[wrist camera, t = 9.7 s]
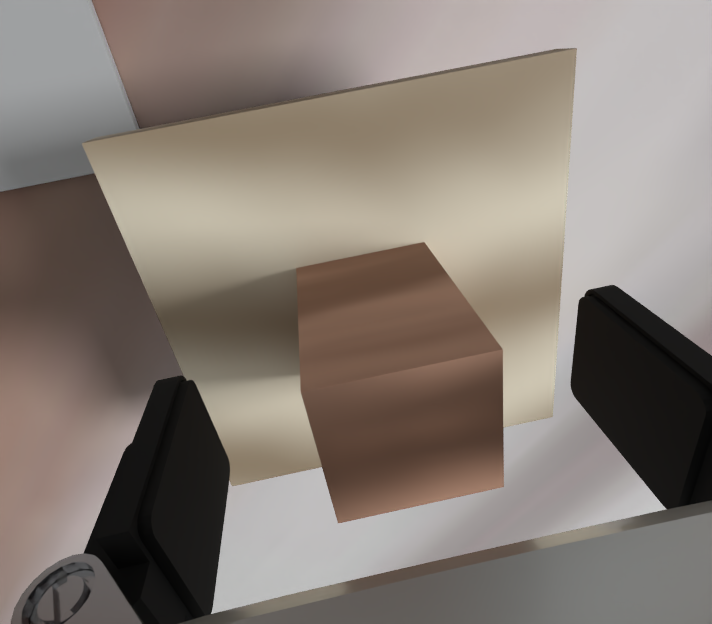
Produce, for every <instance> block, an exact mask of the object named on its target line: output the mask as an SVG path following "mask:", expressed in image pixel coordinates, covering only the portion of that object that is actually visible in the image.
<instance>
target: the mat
mask: <svg viewBox="0 0 712 624" xmlns="http://www.w3.org/2000/svg"><path fill="white" fill-rule="evenodd" d="M137 129H140V128H139V126H138V123H137V120H136V118H135V115H134V112H133V110H132V107H131V105H130V102H129V99H128V97H127V94H126V91H125V89H124V86H123V83H122V81H121V78H120V75H119V73H118V70H117V67H116V65H115V62H114V59H113V57H112V54H111V51H110V49H109V46H108V43H107V41H106V38H105V35H104V33H103V30H102V27H101V25H100V22H99V19H98V17H97V14H96V11H95V9H94V6H93V3H92V1H91V0H0V192H2V191H7V190H12V189H17V188H22V187H27V186H32V185H37V184H42V183H47V182H53V181H58V180H63V179H68V178H73V177H78V176H83V175H88V174H93V173H94V170H93V168H92V166H91V164H90V161H89V159H88V157H87V155H86V152H85V150H84V148H83V145H82V143H84V142H86V141H88V140H91V139H93V138H96V137H100V136H106V135H111V134H116V133H121V132H127V131H132V130H137Z"/></svg>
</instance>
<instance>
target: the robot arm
mask: <svg viewBox="0 0 712 624" xmlns="http://www.w3.org/2000/svg"><path fill="white" fill-rule="evenodd" d="M571 389H572V392H573V395H574V396H575V398H576V399H577V401H578V402H579V403H580V404H581V405H582V407H583V408H584V409H585V410H586V412H587V413H588V414H589V415H590V416H591V418H592V419H593V420H594V421H595V423H596V424H597V425H598V426H599V427H600V429H601V430H602V431H603V432H604V434H605V435H606V436H607V437H608V438H609V440H610V441H611V442H612V443H613V445H614V446H615V447H616V448H617V449H618V451H619V452H620V453H621V454H622V456H623V457H624V458H625V459H626V460H627V462H628V463H629V464H630V465H631V467H632V468H633V469H634V470H635V471H636V473H637V474H638V475H639V476H640V478H641V479H642V480H643V481H644V482H645V484H646V485H647V486H648V487H649V489H650V490H651V491H652V492H653V493H654V495H655V496H656V497H657V498H658V500H659V501H660V502H661V503H662V505H663V506H664V507H665V508H666V509H667V510H662V511H658V512H653V513H649V514H644V515H640V516H635V517H631V518H626V519H621V520H617V521H612V522H608V523H603V524H599V525H594V526H590V527H585V528H581V529H576V530H571V531H567V532H562V533H558V534H553V535H549V536H544V537H540V538H535V539H531V540H527V541H522V542H518V543H513V544H509V545H504V546H500V547H495V548H491V549H487V550H482V551H478V552H473V553H469V554H464V555H460V556H456V557H451V558H447V559H442V560H438V561H434V562H429V563H425V564H420V565H416V566H412V567H407V568H403V569H399V570H394V571H390V572H386V573H381V574H377V575H373V576H368V577H364V578H360V579H355V580H351V581H347V582H342V583H338V584H334V585H329V586H325V587H321V588H316V589H312V590H308V591H304V592H299V593H295V594H291V595H286V596H282V597H278V598H274V599H270V600H266V601H262V602H258V603H254V604H250V605H246V606H242V607H238V608H234V609H230V610H226V611H222V612H218V613H214V614H211V612H212V607H213V600H214V592H215V585H216V577H217V569H218V562H219V554H220V546H221V539H222V531H223V524H224V516H225V508H226V501H227V493H228V485H229V478H230V463H229V459H228V456H227V454H226V452H225V449H224V447H223V445H222V443H221V440H220V438H219V436H218V433H217V431H216V429H215V427H214V424H213V422H212V420H211V418H210V415H209V413H208V411H207V409H206V406H205V404H204V402H203V400H202V397H201V395H200V393H199V390H198V388H197V386H196V384H195V382H194V381H193V380H188V381H187V380H186V378H185V377H184V376H177V377H172V378H167V379H162V380H158V381H156V383H155V385H154V388H153V390H152V393H151V395H150V398H149V400H148V403H147V406H146V408H145V411H144V413H143V416H142V419H141V421H140V424H139V426H138V429H137V432H136V434H135V437H134V439H133V442H132V444H130V445H129V446H127V448H126V449H125V451H124V453H123V456H122V458H121V461H120V463H119V466H118V468H117V471H116V473H115V476H114V478H113V481H112V483H111V486H110V488H109V491H108V493H107V496H106V498H105V501H104V503H103V506H102V508H101V511H100V513H99V516H98V518H97V521H96V523H95V526H94V529H93V531H92V534H91V536H90V539H89V541H88V544H87V546H86V549H85V551H84V554H78V555H72V556H70V557H67V558H65V559H62V560H60V561H58V562H57V563H55V564H54V565H52V566H50V567H49V568H47V569H46V570H45V571H44V572H42V573H41V574H40V575H39V576H38V577H37V578H36V579H35V580H33V582H32V583H31V584H30V585H29V586H28V588H27V589H26V590H25V591H24V593H23V594H22V595H21V597H20V599H19V601H18V603H17V604H16V606H15V608H14V611H13V615H12V619H11V624H712V356H711V355H710V354H708V353H707V352H706V351H704V350H703V349H702V348H700V347H699V346H697V345H696V344H695V343H693V342H692V341H691V340H689V339H688V338H687V337H685V336H684V335H682V334H681V333H680V332H678V331H677V330H676V329H674V328H673V327H672V326H670V325H669V324H667V323H666V322H665V321H663V320H662V319H661V318H659V317H658V316H657V315H655V314H654V313H652V312H651V311H650V310H648V309H647V308H646V307H644V306H643V305H642V304H640V303H639V302H637V301H636V300H635V299H633V298H632V297H631V296H629V295H628V294H626V293H625V292H624V291H622V290H621V289H620V288H618V287H617V286H615V285H610V286H605V287H600V288H595V289H591V290H588V291H587V292H586V294H585V297H582V298H581V299H580V300H579V305H578V315H577V325H576V335H575V344H574V354H573V364H572V374H571Z"/></svg>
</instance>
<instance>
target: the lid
mask: <svg viewBox="0 0 712 624" xmlns="http://www.w3.org/2000/svg"><path fill="white" fill-rule="evenodd" d="M576 52H577V48H571V49H554V50H549V51H544V52H539V53H533V54H528V55H523V56H518V57H513V58H507V59H502V60H497V61H492V62H486V63H481V64H476V65H471V66H466V67H460V68H455V69H450V70H445V71H440V72H434V73H429V74H424V75H419V76H413V77H408V78H403V79H398V80H393V81H387V82H382V83H377V84H372V85H366V86H361V87H356V88H351V89H346V90H340V91H335V92H330V93H325V94H320V95H314V96H309V97H304V98H299V99H293V100H288V101H283V102H278V103H273V104H267V105H262V106H257V107H252V108H246V109H241V110H236V111H231V112H226V113H220V114H215V115H210V116H205V117H200V118H194V119H189V120H184V121H179V122H173V123H168V124H163V125H158V126H153V127H147V128H142V129H137V130H132V131H127V132H121V133H116V134H111V135H106V136H100V137H96V138H93V139H91V140H88V141H86V142H84V143H82V145H83V148H84V150H85V152H86V155H87V157H88V159H89V161H90V164H91V166H92V168H93V170H94V173H95V175H96V177H97V180H98V182H99V184H100V186H101V189H102V191H103V193H104V195H105V198H106V200H107V202H108V205H109V207H110V209H111V211H112V214H113V216H114V218H115V221H116V223H117V225H118V227H119V230H120V232H121V234H122V236H123V239H124V241H125V243H126V246H127V248H128V250H129V252H130V255H131V257H132V259H133V262H134V264H135V266H136V268H137V271H138V273H139V275H140V277H141V280H142V282H143V284H144V287H145V289H146V291H147V293H148V296H149V298H150V300H151V303H152V305H153V307H154V309H155V312H156V314H157V316H158V318H159V321H160V323H161V325H162V328H163V330H164V332H165V334H166V337H167V339H168V341H169V344H170V346H171V348H172V350H173V353H174V355H175V357H176V359H177V362H178V364H179V366H180V369H181V371H182V373H183V375H184V377H185V378H186V380H187V381H188V380H193V381H194V382H195V384H196V386H197V388H198V390H199V393H200V395H201V397H202V400H203V402H204V404H205V406H206V409H207V411H208V413H209V415H210V418H211V420H212V422H213V424H214V427H215V429H216V431H217V433H218V436H219V438H220V440H221V443H222V445H223V447H224V449H225V452H226V454H227V456H228V459H229V463H230V478H229V480H230V482H231V485H232V486H236V485H241V484H245V483H250V482H255V481H259V480H264V479H268V478H273V477H278V476H282V475H287V474H292V473H296V472H301V471H305V470H310V469H315V468H319V467H322V468H323V472H324V475H325V479H326V482H327V486H328V489H329V493H330V496H331V500H332V503H333V507H334V510H335V514H336V517H337V521H338V523H342V522H347V521H351V520H356V519H360V518H365V517H369V516H374V515H378V514H383V513H387V512H392V511H396V510H401V509H406V508H410V507H415V506H419V505H424V504H428V503H433V502H437V501H442V500H446V499H451V498H455V497H460V496H464V495H469V494H474V493H478V492H483V491H487V490H492V489H496V488H501V487H504V461H503V428H504V427H508V426H513V425H518V424H522V423H527V422H532V421H536V420H541V419H545V418H550V417H553V403H554V388H555V373H556V357H557V342H558V327H559V311H560V296H561V281H562V266H563V250H564V235H565V220H566V204H567V189H568V174H569V159H570V143H571V128H572V113H573V98H574V82H575V67H576Z"/></svg>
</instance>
